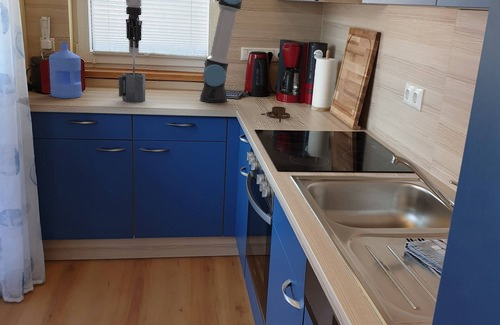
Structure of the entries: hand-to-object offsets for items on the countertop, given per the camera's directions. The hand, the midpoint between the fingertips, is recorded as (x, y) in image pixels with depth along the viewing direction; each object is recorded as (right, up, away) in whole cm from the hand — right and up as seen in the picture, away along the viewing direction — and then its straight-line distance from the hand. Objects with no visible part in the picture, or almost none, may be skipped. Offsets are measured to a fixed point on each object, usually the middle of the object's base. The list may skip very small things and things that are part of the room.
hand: (133, 53), depth 263 cm
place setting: (+73, -34, -9) cm, 81 cm away
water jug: (-38, -21, +8) cm, 44 cm away
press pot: (-3, -24, +6) cm, 25 cm away
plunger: (-1, -12, +4) cm, 13 cm away
